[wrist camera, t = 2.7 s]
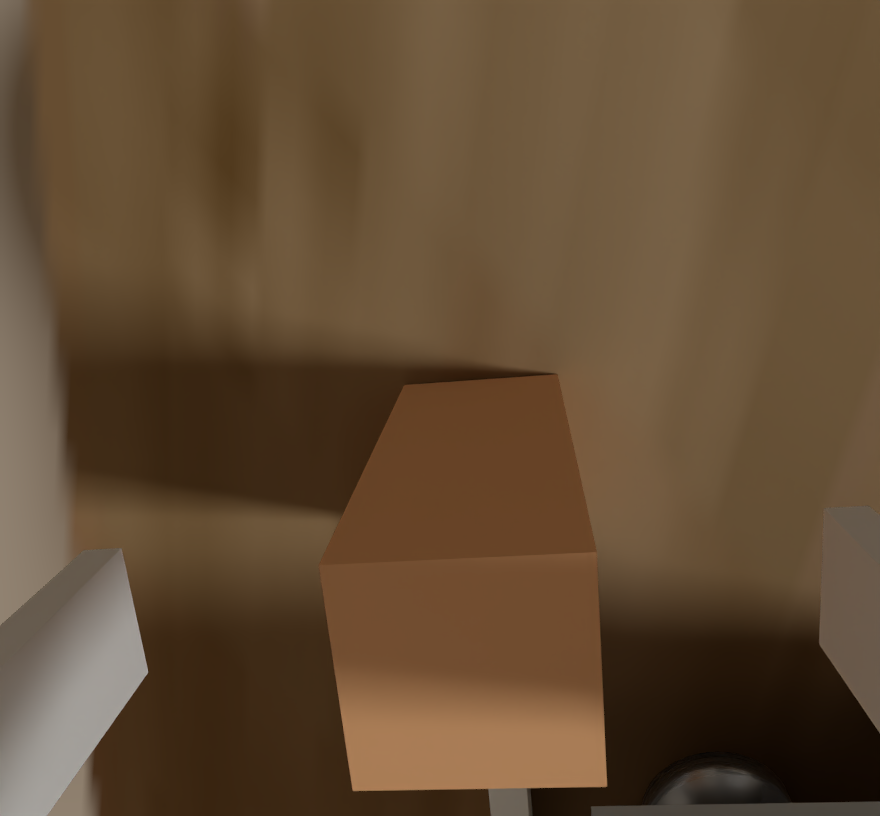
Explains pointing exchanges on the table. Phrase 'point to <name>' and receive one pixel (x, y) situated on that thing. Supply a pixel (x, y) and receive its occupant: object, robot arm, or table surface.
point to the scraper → (469, 599)
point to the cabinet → (744, 809)
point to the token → (716, 782)
